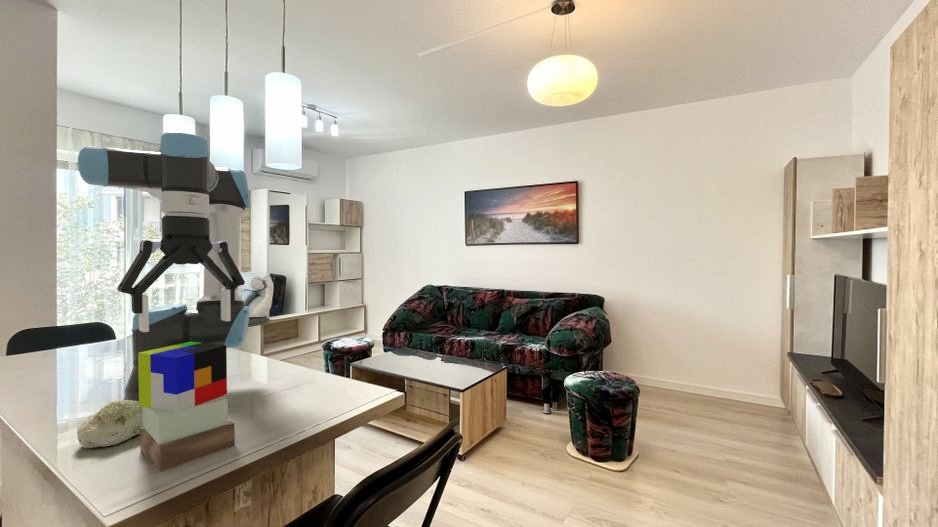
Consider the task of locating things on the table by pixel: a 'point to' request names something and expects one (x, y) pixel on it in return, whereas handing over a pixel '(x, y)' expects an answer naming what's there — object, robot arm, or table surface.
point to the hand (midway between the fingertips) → (187, 325)
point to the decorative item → (111, 424)
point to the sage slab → (185, 420)
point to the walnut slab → (187, 446)
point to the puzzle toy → (182, 376)
